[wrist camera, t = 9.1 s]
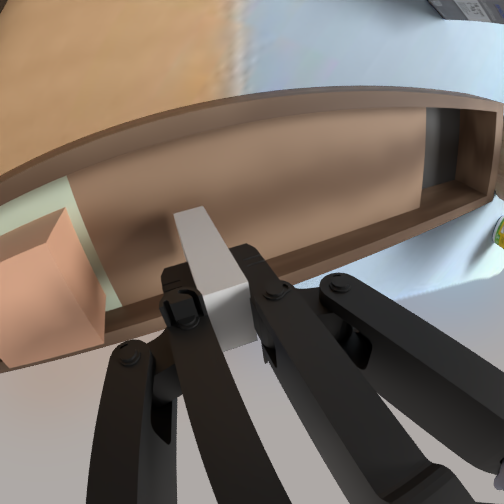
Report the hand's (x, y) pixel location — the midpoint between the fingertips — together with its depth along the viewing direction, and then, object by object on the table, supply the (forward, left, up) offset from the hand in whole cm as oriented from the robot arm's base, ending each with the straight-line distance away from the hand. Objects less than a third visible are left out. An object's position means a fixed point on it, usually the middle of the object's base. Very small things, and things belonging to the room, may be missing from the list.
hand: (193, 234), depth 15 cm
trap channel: (0, +6, -5) cm, 8 cm away
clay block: (0, -10, -2) cm, 10 cm away
